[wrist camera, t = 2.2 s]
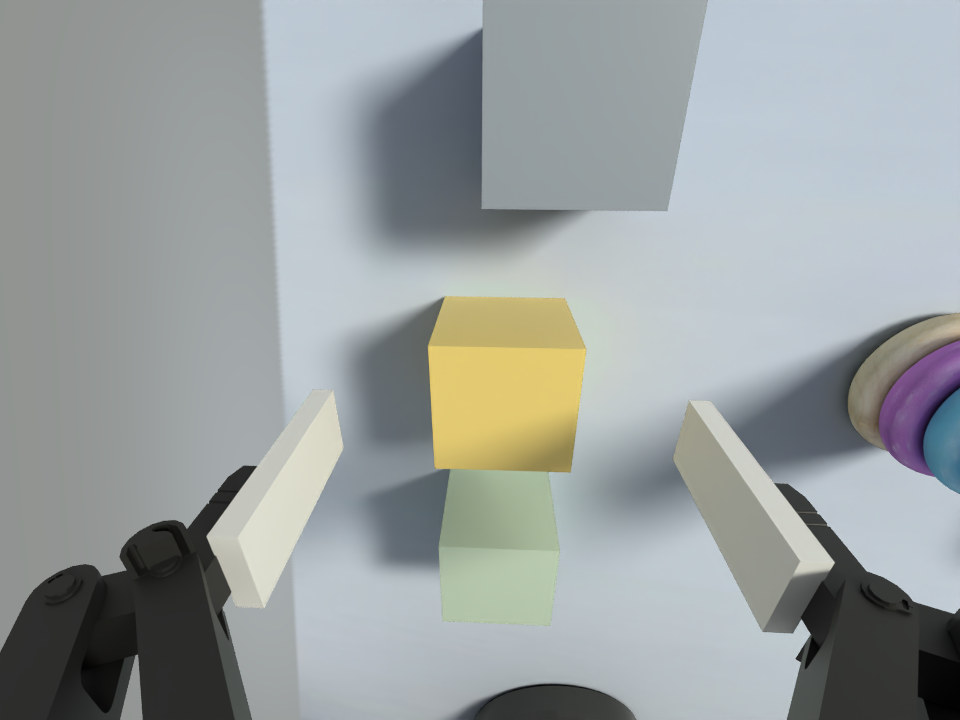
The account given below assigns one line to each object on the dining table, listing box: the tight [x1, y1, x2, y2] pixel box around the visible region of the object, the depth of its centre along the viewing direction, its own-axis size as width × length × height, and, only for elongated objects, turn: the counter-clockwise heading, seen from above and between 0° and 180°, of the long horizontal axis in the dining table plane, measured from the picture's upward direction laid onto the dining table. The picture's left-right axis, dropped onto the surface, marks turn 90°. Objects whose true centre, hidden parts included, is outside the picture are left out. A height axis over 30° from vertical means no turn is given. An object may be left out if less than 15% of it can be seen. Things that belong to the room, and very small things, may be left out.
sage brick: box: [439, 469, 560, 626], centre depth 25 cm, size 6×6×6 cm
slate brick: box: [481, 0, 708, 211], centre depth 15 cm, size 6×6×6 cm
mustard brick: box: [428, 296, 586, 472], centre depth 20 cm, size 6×6×6 cm
